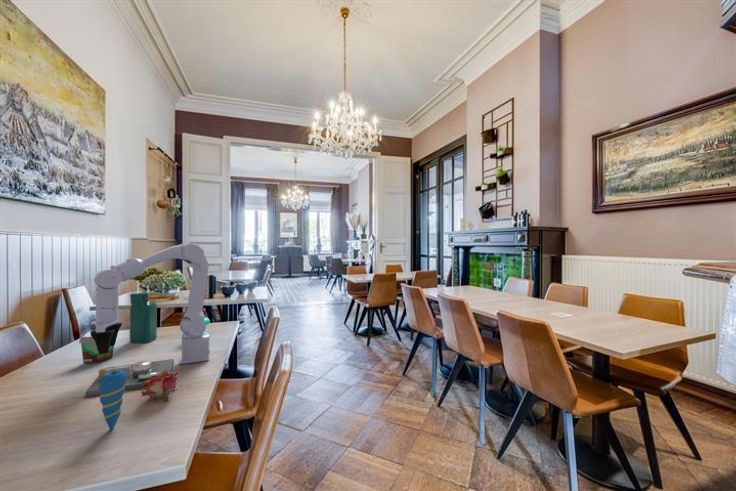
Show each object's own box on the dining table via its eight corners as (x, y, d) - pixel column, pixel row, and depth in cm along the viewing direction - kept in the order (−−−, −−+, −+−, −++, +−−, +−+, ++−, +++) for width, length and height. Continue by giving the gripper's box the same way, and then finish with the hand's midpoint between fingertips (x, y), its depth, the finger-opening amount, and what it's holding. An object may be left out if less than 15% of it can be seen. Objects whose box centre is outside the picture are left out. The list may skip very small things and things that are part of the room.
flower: (191, 390, 93) (183, 364, 95) (162, 397, 84) (154, 368, 87) (166, 406, 94) (160, 380, 97) (136, 414, 86) (129, 386, 88)
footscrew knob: (152, 368, 108) (152, 359, 108) (150, 374, 104) (150, 364, 104) (101, 375, 102) (101, 366, 102) (96, 381, 98) (97, 372, 98)
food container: (92, 366, 114) (92, 338, 114) (78, 365, 116) (79, 337, 116) (125, 355, 126) (125, 329, 126) (112, 353, 128) (112, 328, 128)
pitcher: (138, 338, 149) (139, 290, 149) (158, 337, 150) (158, 290, 150) (125, 344, 139) (125, 293, 139) (146, 344, 140) (146, 293, 140)
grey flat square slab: (173, 363, 118) (173, 354, 118) (167, 384, 100) (168, 374, 100) (105, 372, 109) (105, 363, 109) (85, 397, 91) (85, 386, 91)
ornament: (108, 423, 78) (109, 361, 78) (131, 422, 79) (131, 361, 79) (92, 436, 73) (93, 370, 73) (116, 435, 73) (117, 369, 73)
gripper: (98, 304, 108) (98, 344, 108) (83, 312, 95) (82, 358, 95) (124, 302, 111) (124, 342, 111) (112, 310, 98) (112, 355, 98)
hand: (107, 349), depth 103 cm, fingers open, 7 cm apart
